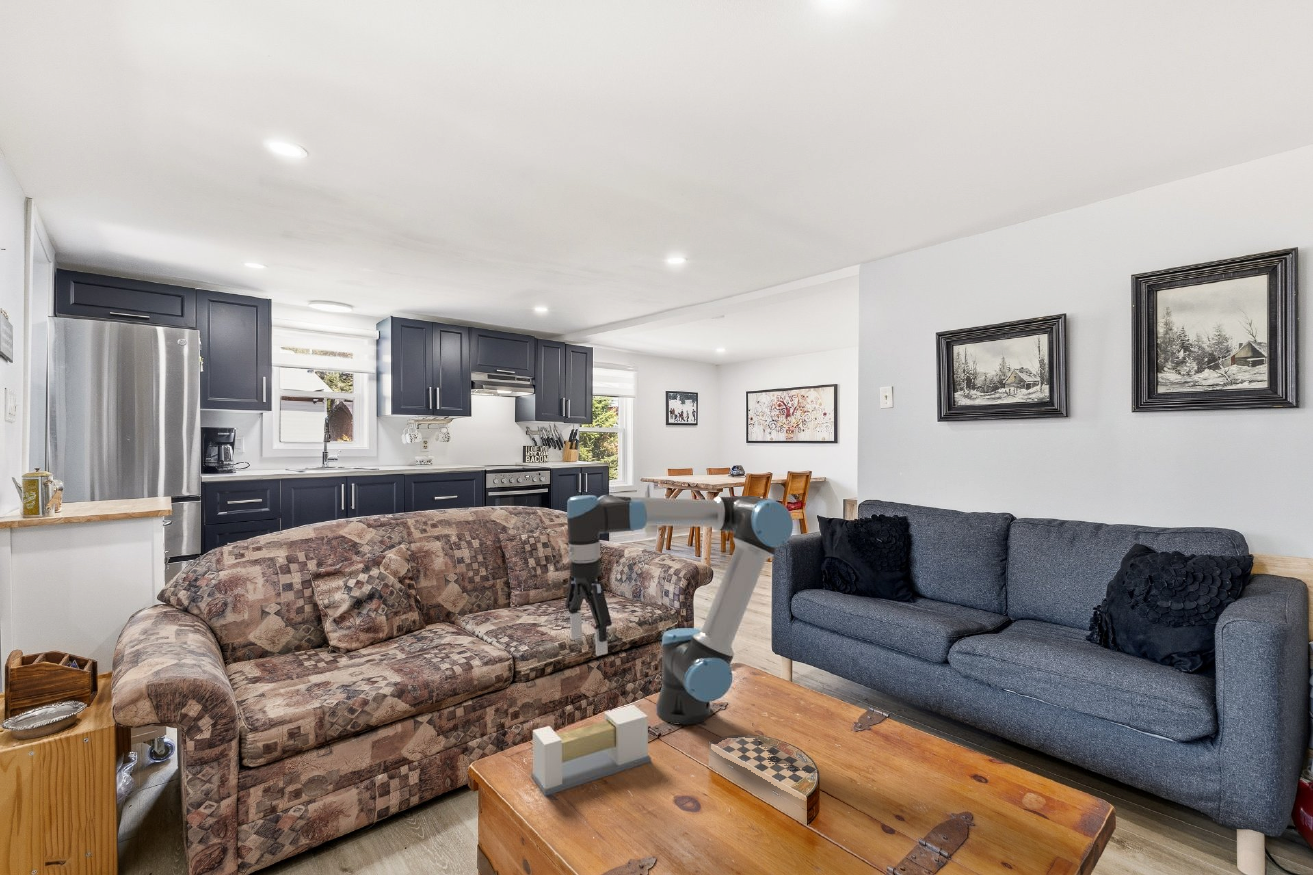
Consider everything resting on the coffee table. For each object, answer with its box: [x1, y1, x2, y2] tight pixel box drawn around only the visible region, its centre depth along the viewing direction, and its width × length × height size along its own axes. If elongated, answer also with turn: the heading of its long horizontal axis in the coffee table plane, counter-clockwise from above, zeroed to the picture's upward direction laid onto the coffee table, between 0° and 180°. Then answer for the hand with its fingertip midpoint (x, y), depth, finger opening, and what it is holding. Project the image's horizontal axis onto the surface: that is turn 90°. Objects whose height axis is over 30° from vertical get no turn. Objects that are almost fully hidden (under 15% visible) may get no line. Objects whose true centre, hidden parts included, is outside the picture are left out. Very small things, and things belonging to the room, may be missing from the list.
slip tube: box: [556, 720, 616, 763], centre depth 142 cm, size 18×4×4 cm, turn 121°
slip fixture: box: [530, 704, 652, 797], centre depth 143 cm, size 26×9×11 cm, turn 121°
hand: (588, 646), depth 149 cm, fingers open, 13 cm apart
